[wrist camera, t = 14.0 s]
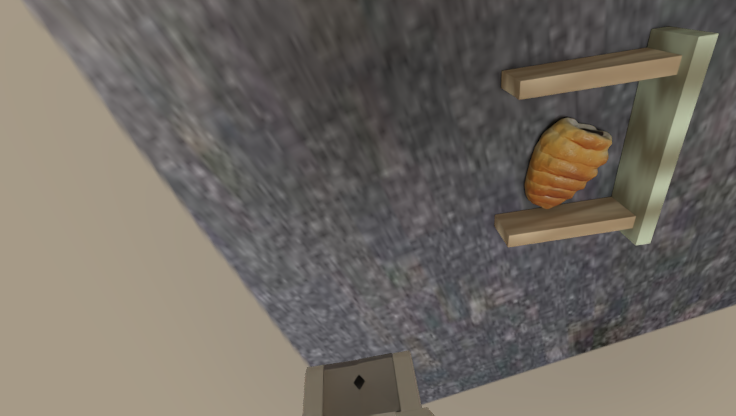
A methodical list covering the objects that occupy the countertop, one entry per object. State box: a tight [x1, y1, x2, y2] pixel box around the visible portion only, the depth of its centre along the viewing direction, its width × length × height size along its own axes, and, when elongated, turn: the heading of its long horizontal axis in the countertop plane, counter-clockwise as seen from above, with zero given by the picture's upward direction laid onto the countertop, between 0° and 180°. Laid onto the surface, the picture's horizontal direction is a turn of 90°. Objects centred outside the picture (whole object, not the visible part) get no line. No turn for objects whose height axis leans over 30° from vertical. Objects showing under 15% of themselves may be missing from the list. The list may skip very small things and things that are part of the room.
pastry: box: [525, 118, 612, 209], centre depth 37 cm, size 9×7×4 cm
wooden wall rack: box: [494, 26, 719, 247], centre depth 36 cm, size 20×14×5 cm
